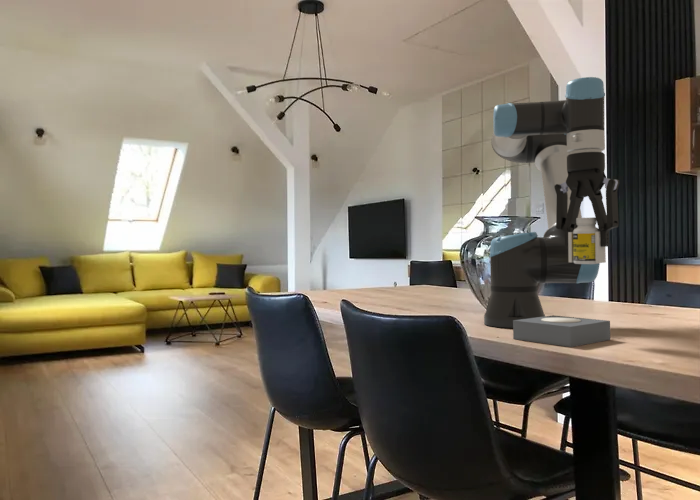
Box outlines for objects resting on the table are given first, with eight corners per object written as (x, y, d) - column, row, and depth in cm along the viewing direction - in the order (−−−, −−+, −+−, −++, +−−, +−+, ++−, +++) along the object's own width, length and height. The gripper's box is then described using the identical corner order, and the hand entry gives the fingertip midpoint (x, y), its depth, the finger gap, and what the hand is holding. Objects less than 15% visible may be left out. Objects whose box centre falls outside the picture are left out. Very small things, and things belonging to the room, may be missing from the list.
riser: (513, 338, 127) (513, 319, 127) (553, 332, 136) (552, 314, 136) (570, 347, 116) (570, 325, 116) (610, 339, 124) (609, 319, 124)
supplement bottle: (567, 263, 127) (567, 218, 126) (586, 262, 129) (585, 218, 129) (587, 264, 122) (587, 217, 122) (606, 263, 124) (605, 217, 124)
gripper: (537, 156, 130) (538, 262, 130) (619, 145, 115) (620, 264, 116) (556, 159, 134) (557, 260, 135) (637, 148, 120) (638, 262, 121)
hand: (586, 262), depth 125 cm, fingers closed on supplement bottle, 5 cm apart
